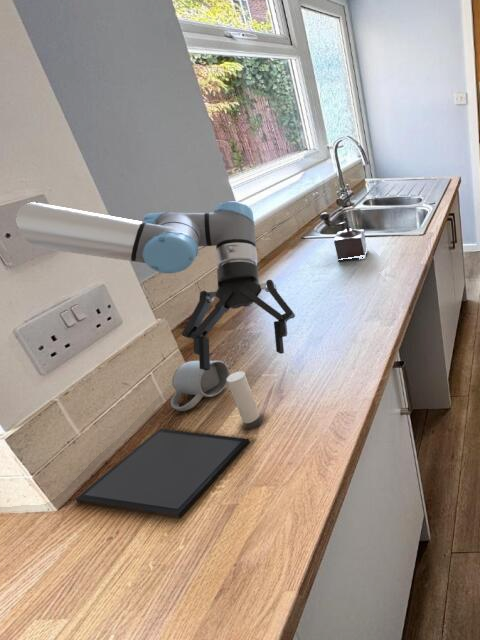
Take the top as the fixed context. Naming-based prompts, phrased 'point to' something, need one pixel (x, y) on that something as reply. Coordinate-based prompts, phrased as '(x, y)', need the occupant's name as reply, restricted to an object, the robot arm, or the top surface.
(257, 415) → the light grey elongated piece
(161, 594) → the top surface
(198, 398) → the ceramic mug
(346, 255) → the black coffee grinder
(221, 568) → the top surface
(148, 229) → the robot arm
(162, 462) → the tablet
